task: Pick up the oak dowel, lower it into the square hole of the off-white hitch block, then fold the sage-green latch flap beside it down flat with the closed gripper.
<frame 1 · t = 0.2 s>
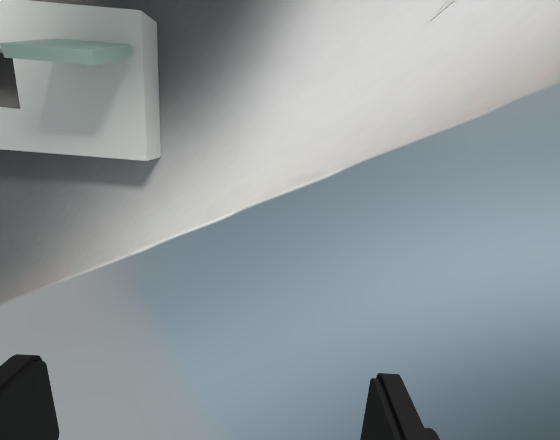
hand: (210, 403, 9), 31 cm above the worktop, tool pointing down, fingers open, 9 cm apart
latch flap: (73, 50, 28), point 8 cm above the worktop, hinge at 75.0°
hitch block: (68, 86, 36), on the worktop
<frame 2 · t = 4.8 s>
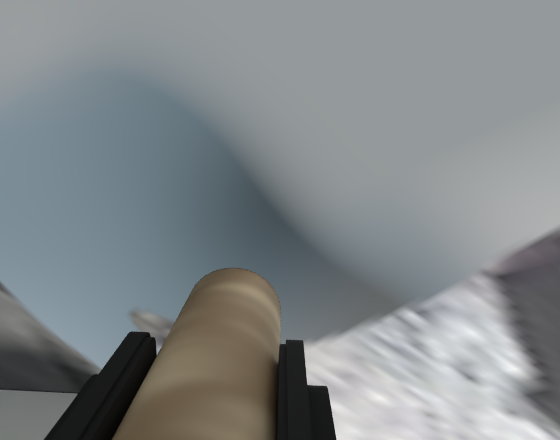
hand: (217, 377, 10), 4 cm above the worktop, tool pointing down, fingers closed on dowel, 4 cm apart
dowel: (234, 309, 14), on the worktop, touching gripper
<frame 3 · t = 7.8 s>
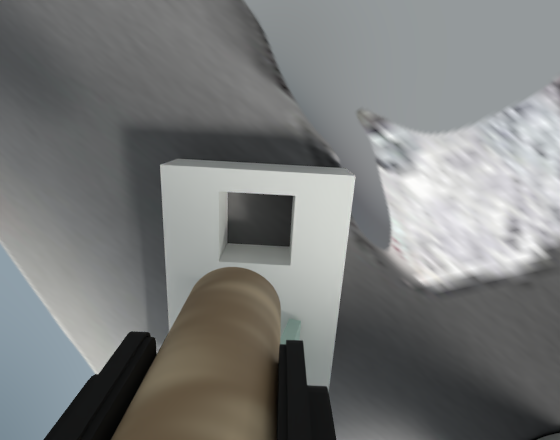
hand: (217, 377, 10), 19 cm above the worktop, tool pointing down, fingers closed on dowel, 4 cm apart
dowel: (234, 309, 14), point 15 cm above the worktop, touching gripper
latch flap: (281, 385, 24), point 8 cm above the worktop, hinge at 75.0°
hitch block: (257, 272, 30), on the worktop
when the fingers open (5 cm above the worktop, at t = 11.2 s): dowel stays where it is, resting in hitch block.
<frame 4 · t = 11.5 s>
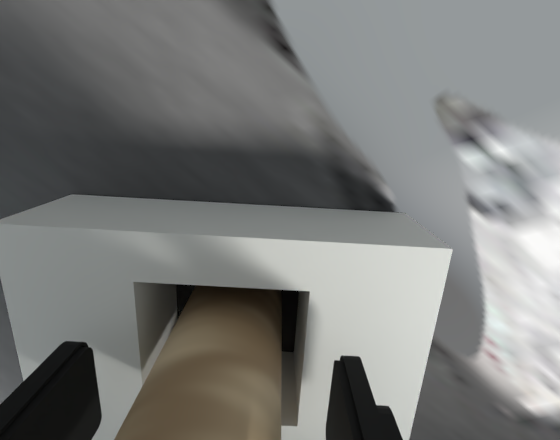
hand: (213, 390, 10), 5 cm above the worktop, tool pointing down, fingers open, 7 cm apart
dowel: (238, 297, 15), resting in hitch block
hitch block: (235, 393, 16), on the worktop
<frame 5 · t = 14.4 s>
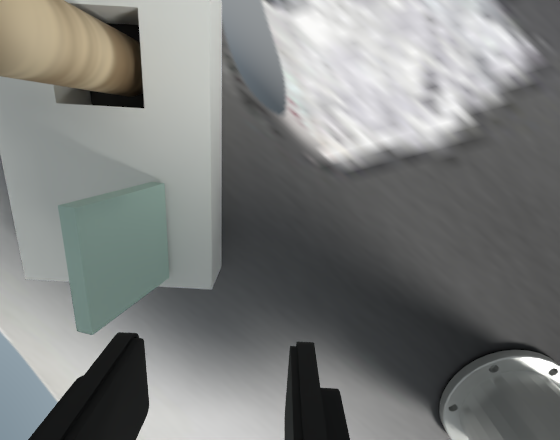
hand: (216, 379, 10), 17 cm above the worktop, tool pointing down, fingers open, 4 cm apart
dowel: (126, 67, 23), resting in hitch block
latch flap: (125, 249, 19), point 8 cm above the worktop, hinge at 75.0°
hitch block: (131, 144, 25), on the worktop
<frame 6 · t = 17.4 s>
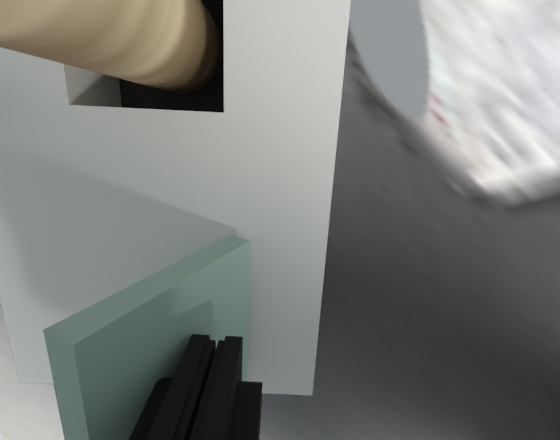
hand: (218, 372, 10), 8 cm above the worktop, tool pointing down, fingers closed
dowel: (178, 46, 15), resting in hitch block
latch flap: (181, 366, 11), point 7 cm above the worktop, hinge at 64.9°, touching gripper
hitch block: (182, 167, 16), on the worktop
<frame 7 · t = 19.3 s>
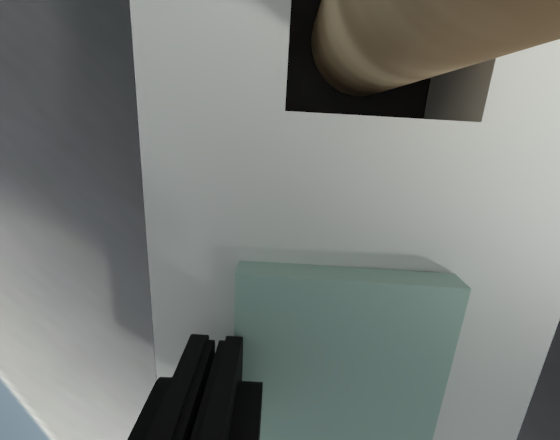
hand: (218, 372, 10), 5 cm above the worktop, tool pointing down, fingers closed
dowel: (364, 39, 12), resting in hitch block
latch flap: (337, 366, 11), point 5 cm above the worktop, hinge at -1.1°, touching hitch block
hitch block: (346, 184, 14), on the worktop
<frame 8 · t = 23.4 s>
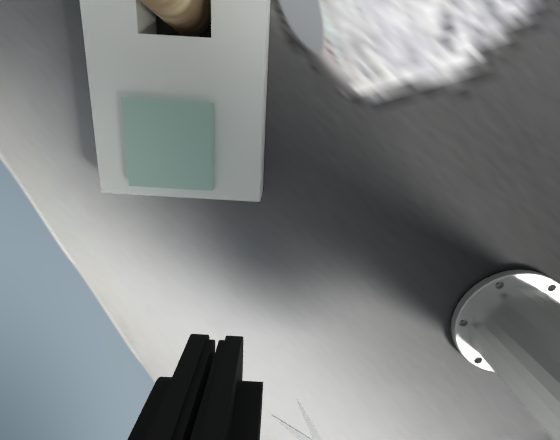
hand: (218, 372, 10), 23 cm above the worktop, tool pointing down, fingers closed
dowel: (188, 10, 28), resting in hitch block
latch flap: (170, 145, 27), point 5 cm above the worktop, hinge at -1.0°, touching hitch block
hitch block: (190, 80, 29), on the worktop
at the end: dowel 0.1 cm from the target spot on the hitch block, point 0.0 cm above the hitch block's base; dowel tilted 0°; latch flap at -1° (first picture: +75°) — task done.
